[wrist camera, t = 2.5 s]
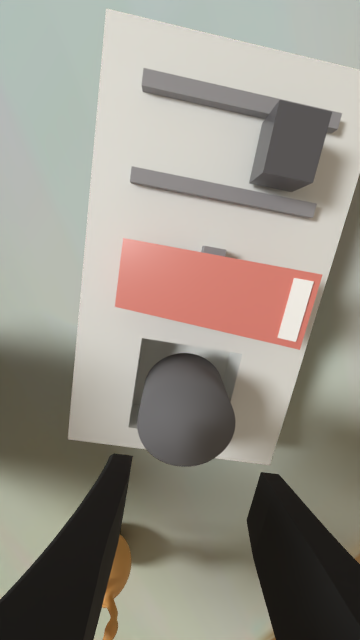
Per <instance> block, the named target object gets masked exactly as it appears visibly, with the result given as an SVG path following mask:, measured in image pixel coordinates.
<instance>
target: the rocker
mask: <svg viewBox="0 0 360 640" xmlns="http://www.w3.org/2000/svg"><path fill="white" fill-rule="evenodd" d="M321 278H322V274H317V273H312V272H306V271H301V270H295V269H290V268H284V267H279V266H274V265H268V264H263V263H257V262H252V261H246V260H241V259H236V258H230V257H225V256H219V255H214V254H209V253H203V252H198V251H192V250H187V249H181V248H176V247H171V246H165V245H160V244H154V243H149V242H143V241H138V240H132V239H127V238H123V243H122V251H121V259H120V268H119V276H118V284H117V292H116V300H115V307H118V308H122V309H127V310H131V311H135V312H140V313H144V314H148V315H152V316H157V317H161V318H165V319H170V320H174V321H178V322H182V323H187V324H191V325H195V326H200V327H204V328H208V329H213V330H217V331H221V332H225V333H230V334H234V335H238V336H243V337H247V338H251V339H255V340H260V341H264V342H268V343H273V344H277V345H281V346H285V347H290V348H294V349H298V350H300V348H301V345H302V341H303V338H304V335H305V331H306V328H307V325H308V321H309V318H310V315H311V312H312V308H313V305H314V302H315V298H316V295H317V292H318V288H319V285H320V282H321Z"/></svg>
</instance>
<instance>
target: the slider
mask: <svg viewBox="0 0 360 640" xmlns="http://www.w3.org/2000/svg"><path fill="white" fill-rule="evenodd" d="M331 115H332V112H331V111H327V110H322V109H318V108H314V107H309V106H305V105H300V104H296V103H292V102H287V101H283V100H279V101H278V103H277V104H276V105H275V107H274V108H273V109H272V111H271V112H270V113H269V115H268V116H267V117H266V119H265V120H264V121H263V123H262V126H261V131H260V135H259V140H258V145H257V149H256V154H255V158H254V163H253V167H252V172H251V176H250V181H249V184H254V185H259V186H264V187H269V188H273V189H278V190H283V191H288V192H293V191H296V190H298V189H300V188H302V187H305V186H307V185H309V184H311V183H313V181H314V178H315V174H316V170H317V167H318V163H319V159H320V156H321V152H322V148H323V145H324V141H325V137H326V134H327V130H328V126H329V123H330V119H331Z"/></svg>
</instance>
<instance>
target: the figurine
mask: <svg viewBox="0 0 360 640" xmlns="http://www.w3.org/2000/svg"><path fill="white" fill-rule="evenodd" d="M130 570H131V552H130V549H129V546H128V544H127V542H126V540H125V539H124V538H123V536H121V535H119V541H118V546H117V549H116V553H115V557H114V561H113V565H112V569H111V573H110V577H109V581H108V585H107V589H106V592H105V596H104V600H103V604H102V607H103V608H106V607H107V609H108V611H109V613H110V616H111V619H110V621H109V622H108V624H107V626H106V628H105V633H104V637H103V640H113V638H114V637H115V635H116V633H117V630H118V622H117V615H118V611H117V608H116V605H115V602H114V598H115V597H116V596H117V595H118V594H119V593H120V592H121V591H122V589H123V588H124V586H125V584H126V582H127V580H128V577H129V574H130Z"/></svg>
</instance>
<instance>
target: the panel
mask: <svg viewBox="0 0 360 640" xmlns="http://www.w3.org/2000/svg"><path fill="white" fill-rule="evenodd" d="M279 100H283V101H287V102H292V103H296V104H300V105H305V106H309V107H314V108H318V109H322V110H327V111H331V112H332V115H331V119H330V123H329V126H328V130H327V134H326V137H325V141H324V145H323V148H322V152H321V156H320V159H319V163H318V167H317V170H316V174H315V178H314V181H313V183H311V184H309V185H307V186H305V187H302V188H300V189H298V190H296V191H293V192H288V191H283V190H278V189H273V188H269V187H264V186H259V185H254V184H249V181H250V176H251V172H252V167H253V163H254V158H255V154H256V149H257V145H258V140H259V135H260V131H261V126H262V123H263V121H264V120H265V119H266V117H267V116H268V115H269V113H270V112H271V111H272V109H273V108H274V107H275V105H276V104H277V103H278V101H279ZM359 174H360V70H359V69H355V68H350V67H346V66H342V65H338V64H334V63H330V62H326V61H321V60H317V59H313V58H309V57H305V56H301V55H297V54H293V53H288V52H284V51H280V50H276V49H272V48H268V47H264V46H259V45H255V44H251V43H247V42H243V41H239V40H235V39H230V38H226V37H222V36H218V35H214V34H210V33H206V32H202V31H197V30H193V29H189V28H185V27H181V26H177V25H173V24H168V23H164V22H160V21H156V20H152V19H148V18H144V17H140V16H135V15H131V14H127V13H123V12H119V11H115V10H111V9H106V17H105V28H104V39H103V50H102V61H101V73H100V84H99V95H98V106H97V117H96V128H95V139H94V151H93V162H92V173H91V184H90V195H89V206H88V217H87V229H86V240H85V251H84V262H83V273H82V284H81V296H80V307H79V318H78V329H77V340H76V351H75V362H74V374H73V385H72V396H71V407H70V418H69V429H68V439H69V440H77V441H85V442H92V443H100V444H108V445H116V446H124V447H131V448H139V449H146V448H145V447H144V446H143V444H142V442H141V440H140V437H139V434H138V429H137V421H138V414H139V409H140V404H141V399H142V394H143V389H144V384H145V379H146V377H147V375H148V373H149V371H150V370H151V368H152V367H153V366H154V365H155V364H156V363H157V362H159V361H160V360H161V359H163V358H165V357H167V356H170V355H173V354H178V353H191V354H195V355H198V356H201V357H203V358H205V359H207V360H208V361H210V362H211V363H212V364H213V365H214V366H215V367H216V369H217V370H218V372H219V374H220V376H221V378H222V381H223V384H224V386H225V389H226V392H227V394H228V397H229V399H230V402H231V405H232V407H233V410H234V414H235V420H236V423H235V431H234V435H233V437H232V439H231V441H230V443H229V445H228V446H227V447H226V449H225V450H224V451H223V452H222V453H221V454H219V455H218V456H217V457H215V458H217V459H225V460H233V461H240V462H248V463H256V464H264V465H270V464H271V461H272V457H273V454H274V451H275V448H276V444H277V441H278V438H279V435H280V431H281V428H282V425H283V422H284V418H285V415H286V412H287V409H288V405H289V402H290V399H291V396H292V392H293V389H294V386H295V383H296V379H297V376H298V373H299V370H300V366H301V363H302V360H303V357H304V353H305V350H306V347H307V344H308V340H309V337H310V334H311V331H312V327H313V324H314V321H315V318H316V314H317V311H318V308H319V305H320V301H321V298H322V295H323V292H324V288H325V285H326V282H327V279H328V275H329V272H330V269H331V266H332V262H333V259H334V256H335V253H336V249H337V246H338V243H339V240H340V236H341V233H342V230H343V226H344V223H345V220H346V217H347V213H348V210H349V207H350V204H351V200H352V197H353V194H354V191H355V187H356V184H357V181H358V178H359ZM123 238H127V239H132V240H138V241H143V242H149V243H154V244H160V245H165V246H171V247H176V248H181V249H187V250H192V251H198V252H203V253H209V254H214V255H219V256H225V257H230V258H236V259H241V260H246V261H252V262H257V263H263V264H268V265H274V266H279V267H284V268H290V269H295V270H301V271H306V272H312V273H317V274H322V278H321V282H320V285H319V288H318V292H317V295H316V298H315V302H314V305H313V308H312V312H311V315H310V318H309V321H308V325H307V328H306V331H305V335H304V338H303V341H302V345H301V348H300V350H298V349H294V348H290V347H285V346H281V345H277V344H273V343H268V342H264V341H260V340H255V339H251V338H247V337H243V336H238V335H234V334H230V333H225V332H221V331H217V330H213V329H208V328H204V327H200V326H195V325H191V324H187V323H182V322H178V321H174V320H170V319H165V318H161V317H157V316H152V315H148V314H144V313H140V312H135V311H131V310H127V309H122V308H118V307H115V300H116V292H117V284H118V276H119V268H120V259H121V251H122V243H123Z"/></svg>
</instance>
